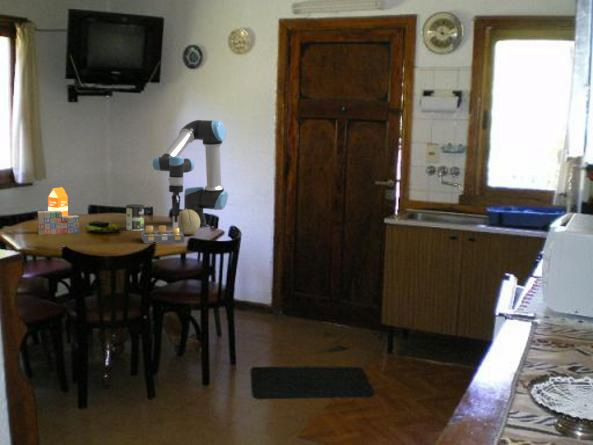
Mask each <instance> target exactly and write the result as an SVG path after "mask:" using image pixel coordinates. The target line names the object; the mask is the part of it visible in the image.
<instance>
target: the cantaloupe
mask: <svg viewBox="0 0 593 445" xmlns="http://www.w3.org/2000/svg"><path fill="white" fill-rule="evenodd" d="M184 209H185V210H184ZM200 227H201V226H200V218H199V216H198V214H197V213H196V212H195V211H193V210H189V209H186V208H183V210H179V216H178V228H179V231H181V232H182V233H183V234H184V236H189V235H194V234H195V233H196V232H198V230H199V229H200Z"/></svg>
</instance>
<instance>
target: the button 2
mask: <svg viewBox="0 0 593 445" xmlns="http://www.w3.org/2000/svg"><path fill="white" fill-rule="evenodd" d="M171 231H172V234H179V228H173V227H171Z"/></svg>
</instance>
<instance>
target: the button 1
mask: <svg viewBox="0 0 593 445" xmlns="http://www.w3.org/2000/svg"><path fill="white" fill-rule="evenodd" d="M145 231H146V234H153V231H154V225H145Z"/></svg>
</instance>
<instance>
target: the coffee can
mask: <svg viewBox="0 0 593 445" xmlns="http://www.w3.org/2000/svg"><path fill="white" fill-rule="evenodd" d="M125 208H126V210H125V211H126V214H125V215H126V216H125V217H126V219H125V221H126V226H125V227H126V230H127V231H132V232H136V231H137V232H140V231H145V205H144V204H126V205H125ZM126 230H125V231H126Z"/></svg>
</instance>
